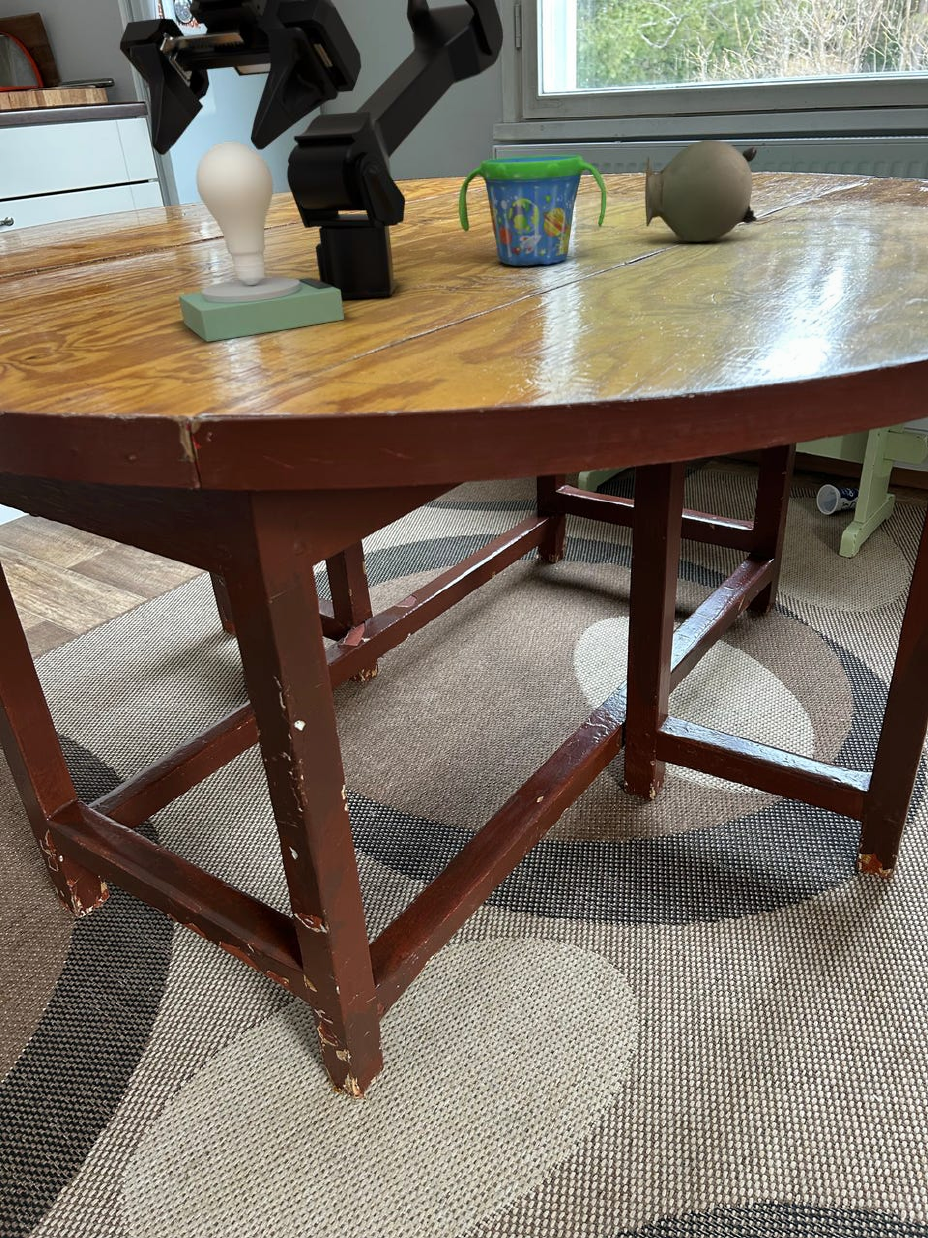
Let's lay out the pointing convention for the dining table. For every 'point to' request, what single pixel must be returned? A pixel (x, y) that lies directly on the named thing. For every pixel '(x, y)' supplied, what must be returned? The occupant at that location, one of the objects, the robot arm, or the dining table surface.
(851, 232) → the dining table surface
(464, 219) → the snack cup
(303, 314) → the scale
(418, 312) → the dining table surface
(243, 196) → the lightbulb
